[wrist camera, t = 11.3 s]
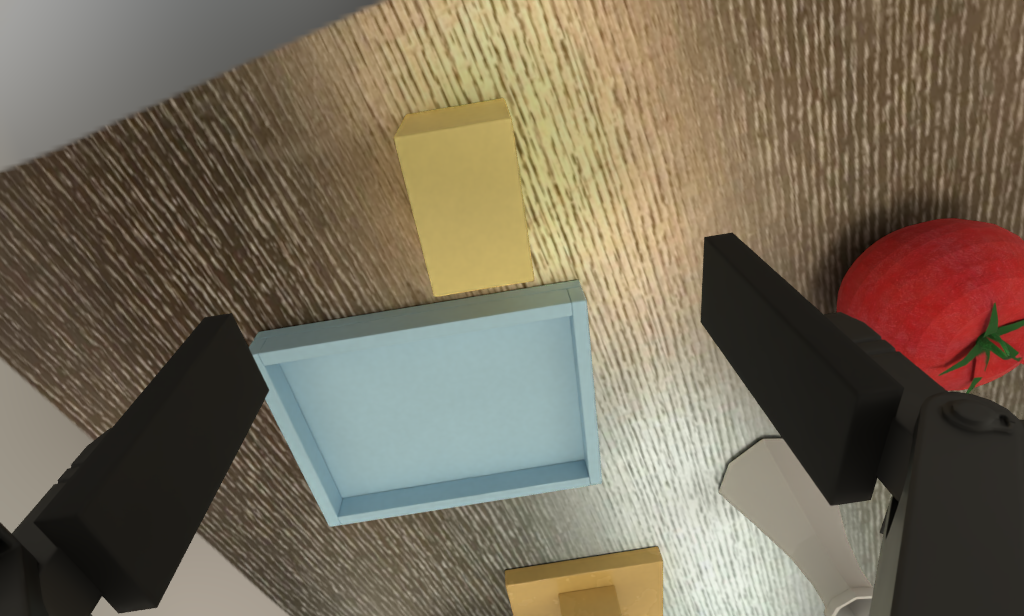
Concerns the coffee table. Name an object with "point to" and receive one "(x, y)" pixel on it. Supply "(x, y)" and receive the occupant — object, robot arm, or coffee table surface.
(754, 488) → the flask
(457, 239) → the butter
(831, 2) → the coffee table surface
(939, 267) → the tomato
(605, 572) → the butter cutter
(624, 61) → the coffee table surface
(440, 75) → the coffee table surface
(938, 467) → the robot arm
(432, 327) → the butter dish
